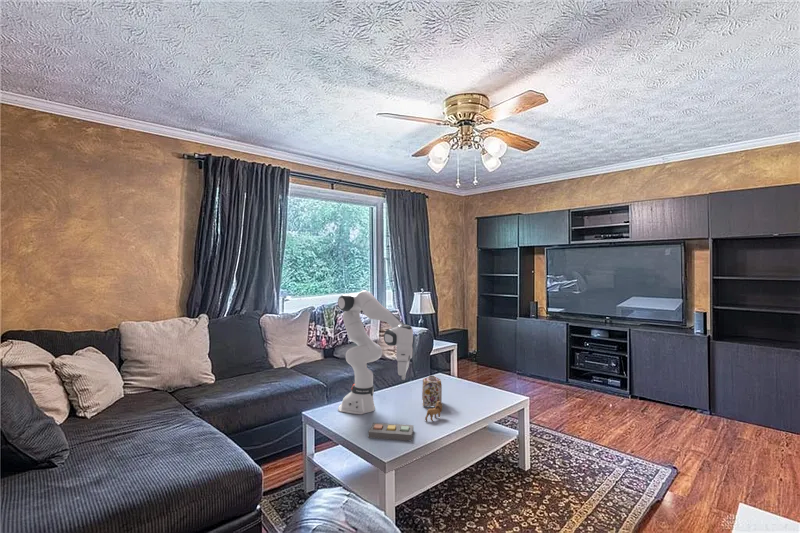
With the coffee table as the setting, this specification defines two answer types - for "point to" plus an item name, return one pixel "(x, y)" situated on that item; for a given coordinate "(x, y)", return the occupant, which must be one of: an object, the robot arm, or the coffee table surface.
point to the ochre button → (391, 427)
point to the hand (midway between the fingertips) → (403, 379)
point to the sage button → (405, 428)
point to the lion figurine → (434, 411)
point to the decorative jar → (431, 391)
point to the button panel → (390, 432)
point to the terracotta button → (378, 427)
